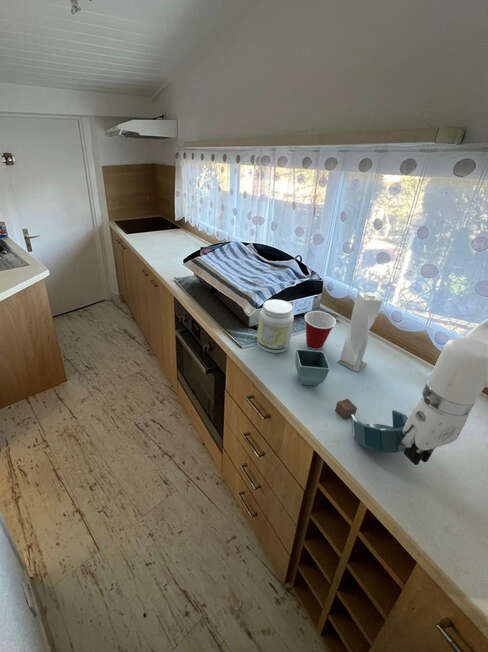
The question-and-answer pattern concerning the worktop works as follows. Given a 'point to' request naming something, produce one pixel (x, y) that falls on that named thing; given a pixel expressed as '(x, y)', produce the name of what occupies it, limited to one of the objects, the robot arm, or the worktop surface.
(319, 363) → the flower pot
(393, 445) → the teal handled scoop
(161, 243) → the worktop surface
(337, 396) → the worktop surface
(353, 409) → the block
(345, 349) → the skyscraper
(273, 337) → the supplement tub
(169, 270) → the worktop surface
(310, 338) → the plastic cup
